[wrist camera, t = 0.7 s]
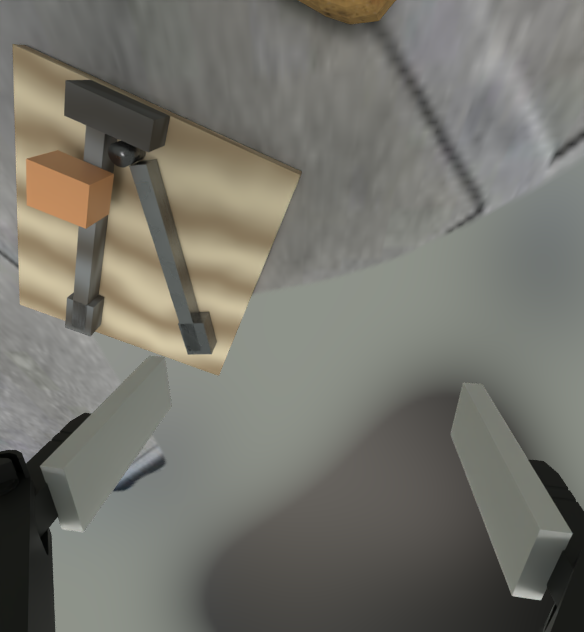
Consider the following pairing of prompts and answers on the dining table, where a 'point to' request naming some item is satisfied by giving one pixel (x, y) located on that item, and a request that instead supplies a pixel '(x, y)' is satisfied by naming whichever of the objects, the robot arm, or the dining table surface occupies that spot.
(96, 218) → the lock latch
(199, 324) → the upper tong arm
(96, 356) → the dining table surface
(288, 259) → the dining table surface
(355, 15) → the potato
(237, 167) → the tongs board
